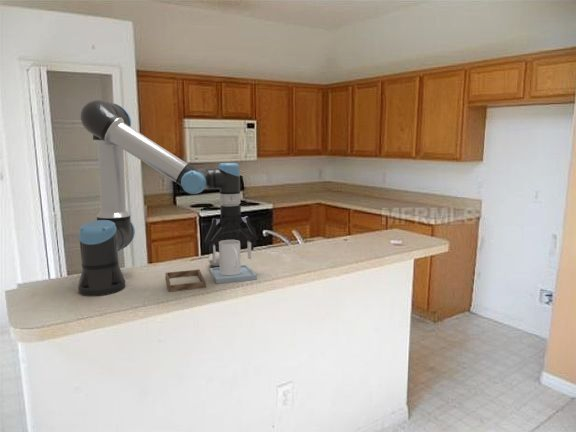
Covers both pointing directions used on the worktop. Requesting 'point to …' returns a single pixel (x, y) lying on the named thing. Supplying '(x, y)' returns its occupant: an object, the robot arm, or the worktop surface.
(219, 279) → the tray
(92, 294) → the robot arm
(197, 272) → the walnut frame
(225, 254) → the mug
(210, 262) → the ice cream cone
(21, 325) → the worktop surface
